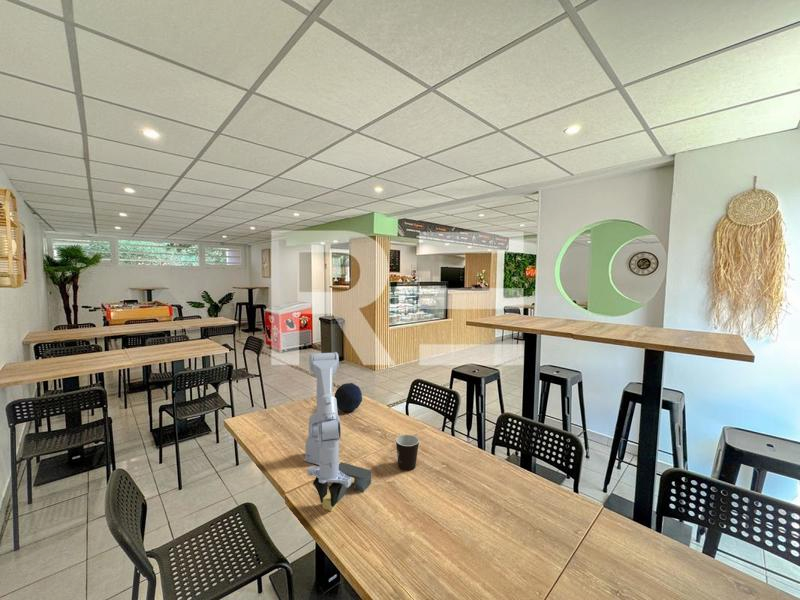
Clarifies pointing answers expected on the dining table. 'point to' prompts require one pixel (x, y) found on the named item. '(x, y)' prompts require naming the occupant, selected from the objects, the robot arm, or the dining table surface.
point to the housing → (357, 475)
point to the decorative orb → (348, 397)
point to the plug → (328, 500)
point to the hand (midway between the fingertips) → (328, 502)
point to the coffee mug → (407, 451)
